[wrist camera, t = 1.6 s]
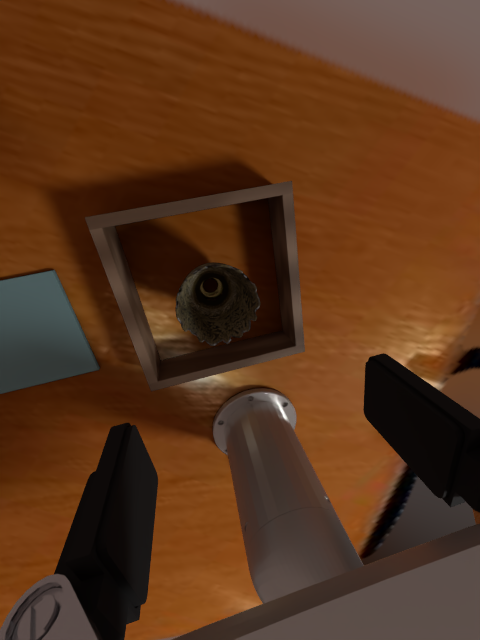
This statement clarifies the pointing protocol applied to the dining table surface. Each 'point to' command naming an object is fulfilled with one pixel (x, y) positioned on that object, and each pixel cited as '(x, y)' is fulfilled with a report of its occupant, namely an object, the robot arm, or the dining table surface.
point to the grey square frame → (225, 355)
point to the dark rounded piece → (217, 303)
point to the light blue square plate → (39, 333)
